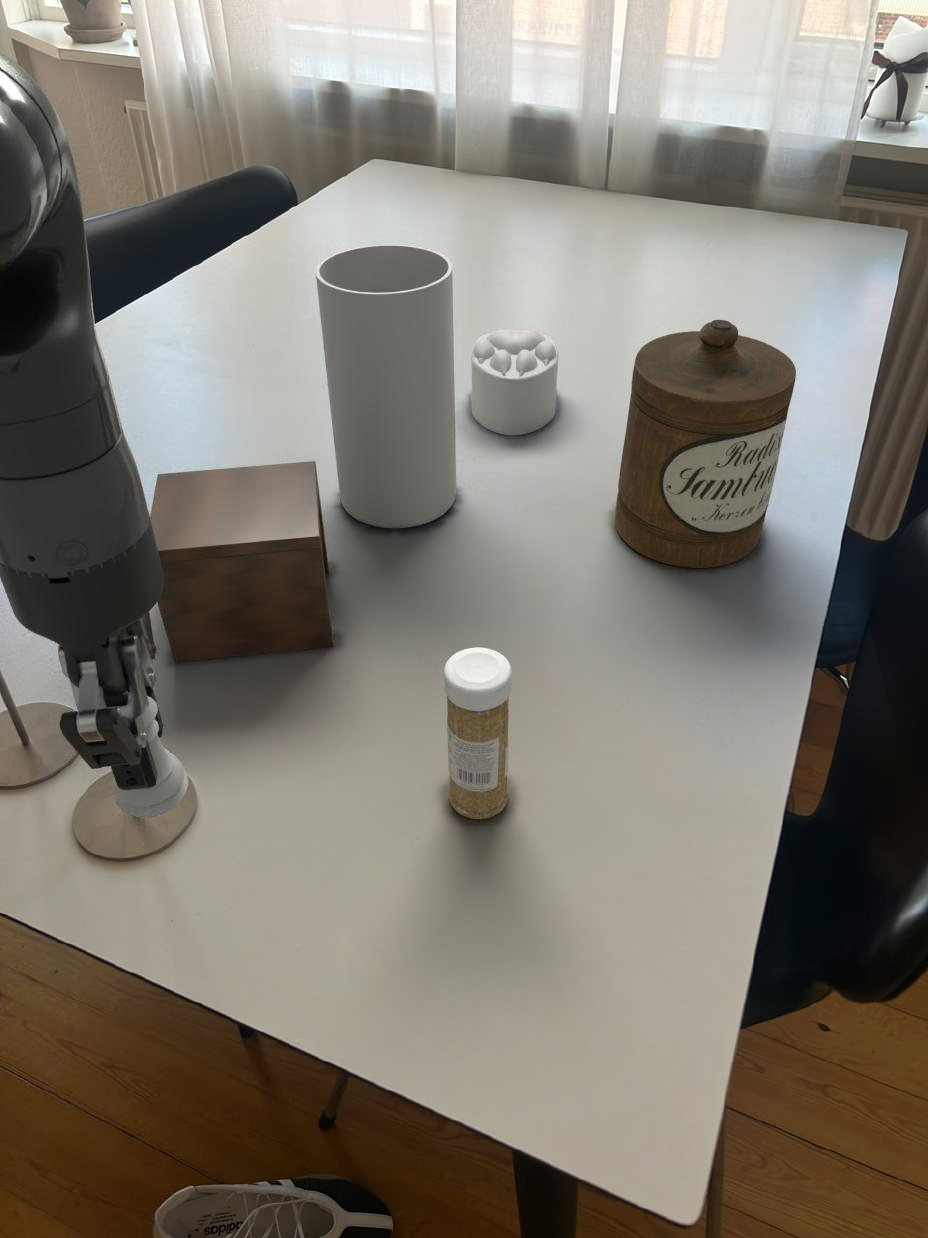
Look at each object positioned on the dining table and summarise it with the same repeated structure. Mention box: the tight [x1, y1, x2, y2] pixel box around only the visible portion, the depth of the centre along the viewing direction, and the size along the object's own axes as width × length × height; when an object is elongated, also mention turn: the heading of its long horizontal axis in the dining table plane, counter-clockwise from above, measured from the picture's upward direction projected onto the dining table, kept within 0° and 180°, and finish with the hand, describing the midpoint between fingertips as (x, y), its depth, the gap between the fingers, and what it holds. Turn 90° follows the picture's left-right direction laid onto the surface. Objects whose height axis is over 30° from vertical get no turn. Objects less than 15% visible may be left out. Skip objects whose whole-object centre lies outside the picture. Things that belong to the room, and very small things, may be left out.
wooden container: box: [614, 319, 797, 569], centre depth 93 cm, size 15×15×22 cm
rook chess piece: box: [111, 691, 189, 818], centre depth 57 cm, size 4×4×8 cm
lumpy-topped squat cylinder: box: [470, 328, 559, 436], centre depth 117 cm, size 10×13×9 cm
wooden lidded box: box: [149, 460, 335, 663], centre depth 86 cm, size 14×12×12 cm
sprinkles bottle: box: [443, 647, 513, 820], centre depth 68 cm, size 5×5×14 cm
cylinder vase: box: [315, 243, 457, 529], centre depth 96 cm, size 12×12×25 cm
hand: (142, 759), depth 58 cm, fingers closed on rook chess piece, 3 cm apart
